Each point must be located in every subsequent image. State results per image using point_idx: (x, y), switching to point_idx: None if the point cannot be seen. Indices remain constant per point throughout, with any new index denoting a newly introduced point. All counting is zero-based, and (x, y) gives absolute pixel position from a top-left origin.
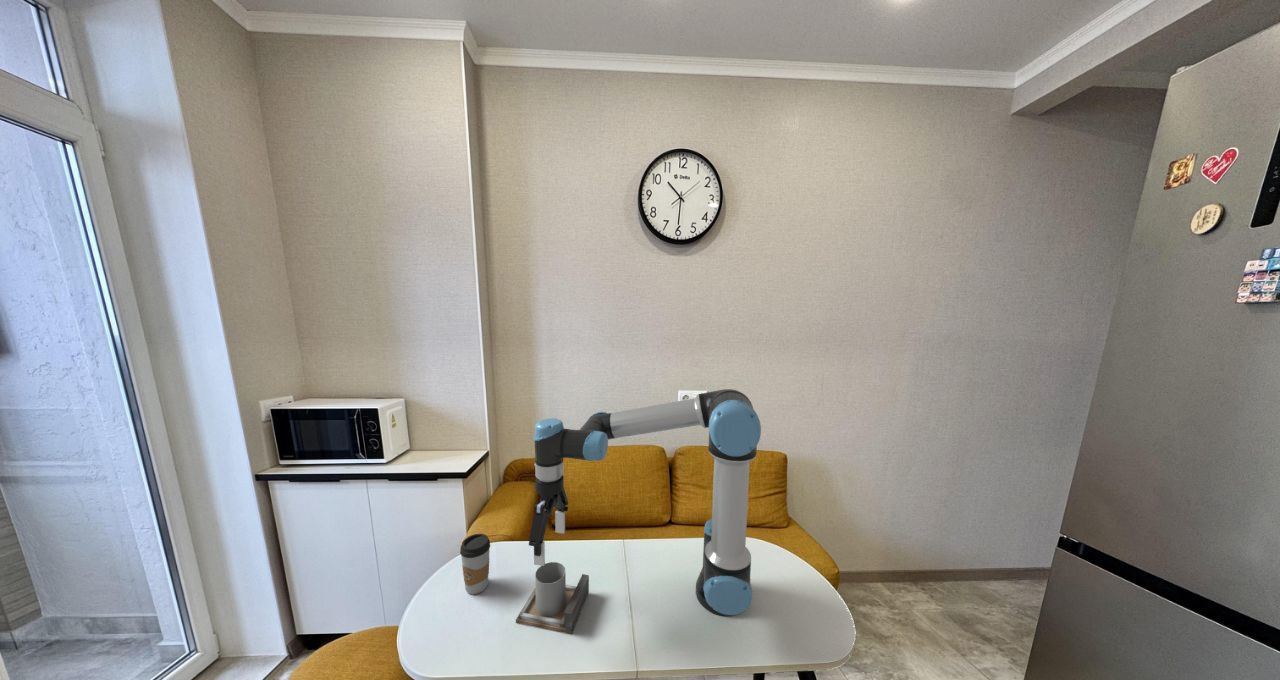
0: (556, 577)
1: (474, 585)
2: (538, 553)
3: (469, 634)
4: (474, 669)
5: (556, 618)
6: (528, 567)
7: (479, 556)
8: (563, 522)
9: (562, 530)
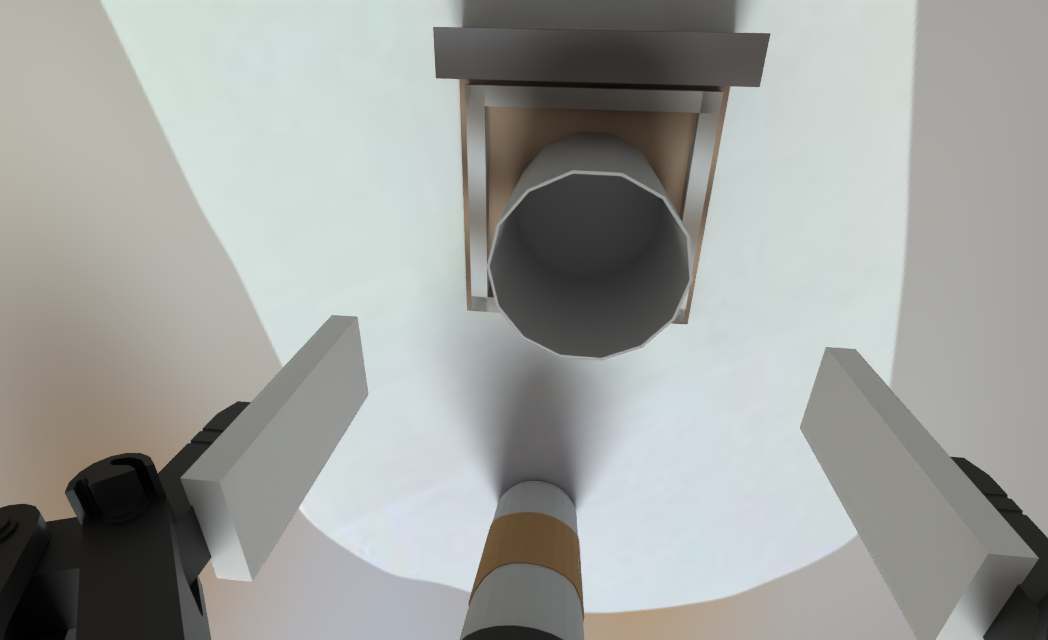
0: (504, 232)
1: (575, 530)
2: (998, 497)
3: (743, 446)
4: (891, 372)
5: (666, 147)
6: (393, 380)
7: (564, 637)
8: (298, 392)
9: (345, 348)
